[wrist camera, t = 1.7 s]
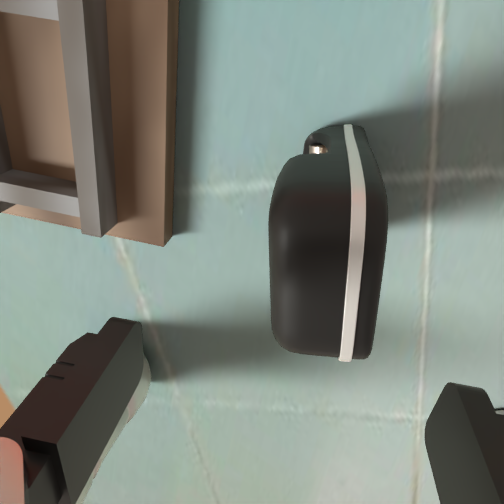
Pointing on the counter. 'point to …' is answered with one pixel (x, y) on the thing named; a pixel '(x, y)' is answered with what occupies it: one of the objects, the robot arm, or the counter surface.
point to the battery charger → (328, 246)
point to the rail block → (90, 114)
